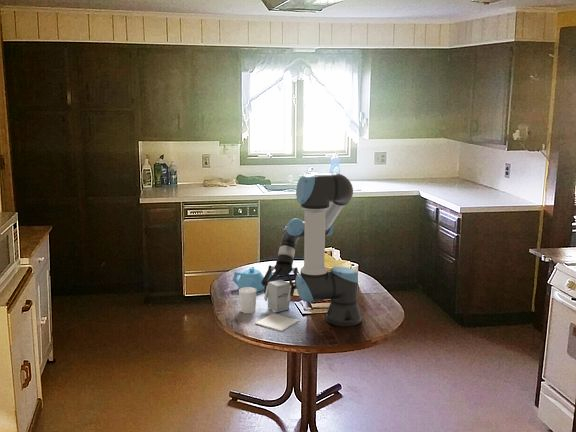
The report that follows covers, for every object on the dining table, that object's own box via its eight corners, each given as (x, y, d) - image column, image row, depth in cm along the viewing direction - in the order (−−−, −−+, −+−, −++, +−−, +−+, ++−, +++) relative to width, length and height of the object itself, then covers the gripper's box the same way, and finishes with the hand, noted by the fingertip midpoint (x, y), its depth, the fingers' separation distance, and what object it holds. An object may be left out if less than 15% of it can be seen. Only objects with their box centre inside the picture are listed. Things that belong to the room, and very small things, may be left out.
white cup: (254, 314, 276) (253, 293, 273) (237, 313, 277) (236, 292, 275) (258, 308, 283) (258, 287, 281) (241, 307, 285) (241, 286, 282)
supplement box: (276, 313, 278) (276, 286, 275) (267, 308, 283) (267, 281, 281) (289, 309, 282) (290, 283, 279) (280, 304, 288) (280, 278, 285)
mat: (298, 321, 268) (299, 320, 268) (281, 331, 257) (281, 330, 257) (272, 314, 275) (272, 313, 275) (255, 324, 265) (254, 322, 265)
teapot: (254, 282, 320) (253, 261, 317) (273, 289, 309) (273, 268, 307) (230, 288, 309) (230, 268, 307) (250, 296, 299) (249, 275, 296)
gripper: (310, 263, 290) (302, 306, 279) (264, 259, 296) (254, 302, 284) (307, 255, 284) (299, 299, 273) (260, 251, 290) (251, 294, 278)
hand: (276, 300), depth 279 cm, fingers closed on supplement box, 10 cm apart
